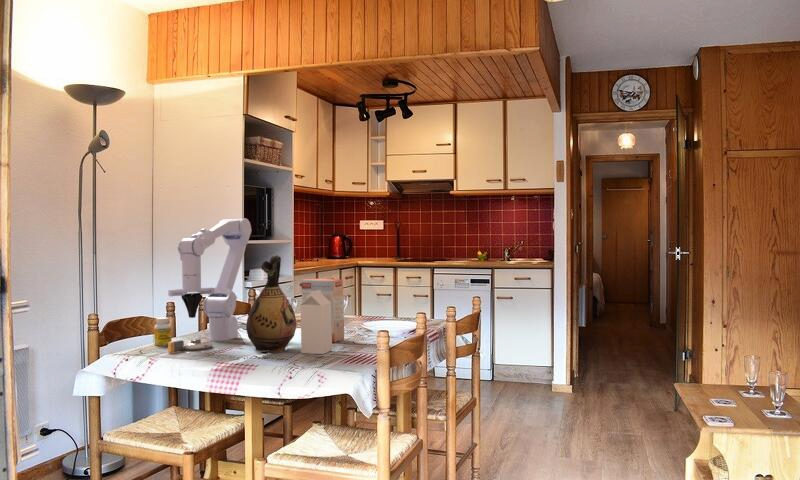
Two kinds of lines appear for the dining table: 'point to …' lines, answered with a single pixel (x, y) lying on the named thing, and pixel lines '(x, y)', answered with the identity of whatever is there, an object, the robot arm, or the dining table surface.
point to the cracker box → (334, 294)
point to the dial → (189, 345)
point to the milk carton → (316, 324)
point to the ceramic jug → (271, 314)
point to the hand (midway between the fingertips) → (192, 317)
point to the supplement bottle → (162, 331)
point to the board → (199, 352)
